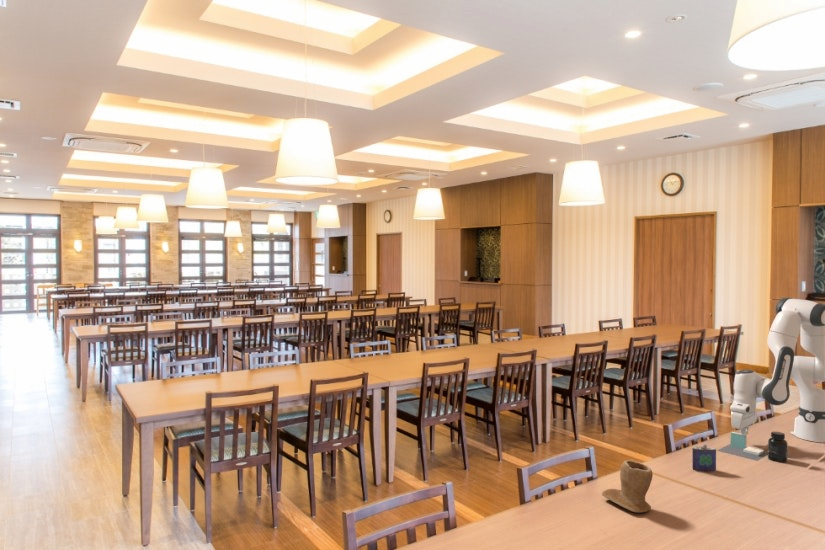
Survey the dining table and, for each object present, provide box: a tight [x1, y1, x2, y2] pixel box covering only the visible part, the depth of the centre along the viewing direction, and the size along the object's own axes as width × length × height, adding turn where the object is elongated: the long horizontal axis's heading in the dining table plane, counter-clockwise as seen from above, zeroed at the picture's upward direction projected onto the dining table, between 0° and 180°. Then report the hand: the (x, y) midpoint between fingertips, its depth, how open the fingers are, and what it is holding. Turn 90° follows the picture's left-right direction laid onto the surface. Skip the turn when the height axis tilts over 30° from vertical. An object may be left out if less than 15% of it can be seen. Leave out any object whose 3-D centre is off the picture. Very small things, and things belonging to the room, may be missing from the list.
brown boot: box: [601, 460, 654, 513], centre depth 188 cm, size 15×12×15 cm
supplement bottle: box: [767, 431, 789, 464], centre depth 231 cm, size 7×7×12 cm
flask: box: [691, 443, 717, 472], centre depth 221 cm, size 9×3×11 cm, turn 88°
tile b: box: [730, 431, 748, 449], centre depth 248 cm, size 2×6×6 cm, turn 39°
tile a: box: [743, 446, 765, 456], centre depth 240 cm, size 2×6×6 cm
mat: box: [716, 443, 768, 461], centre depth 242 cm, size 16×16×1 cm
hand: (744, 435), depth 252 cm, fingers closed
